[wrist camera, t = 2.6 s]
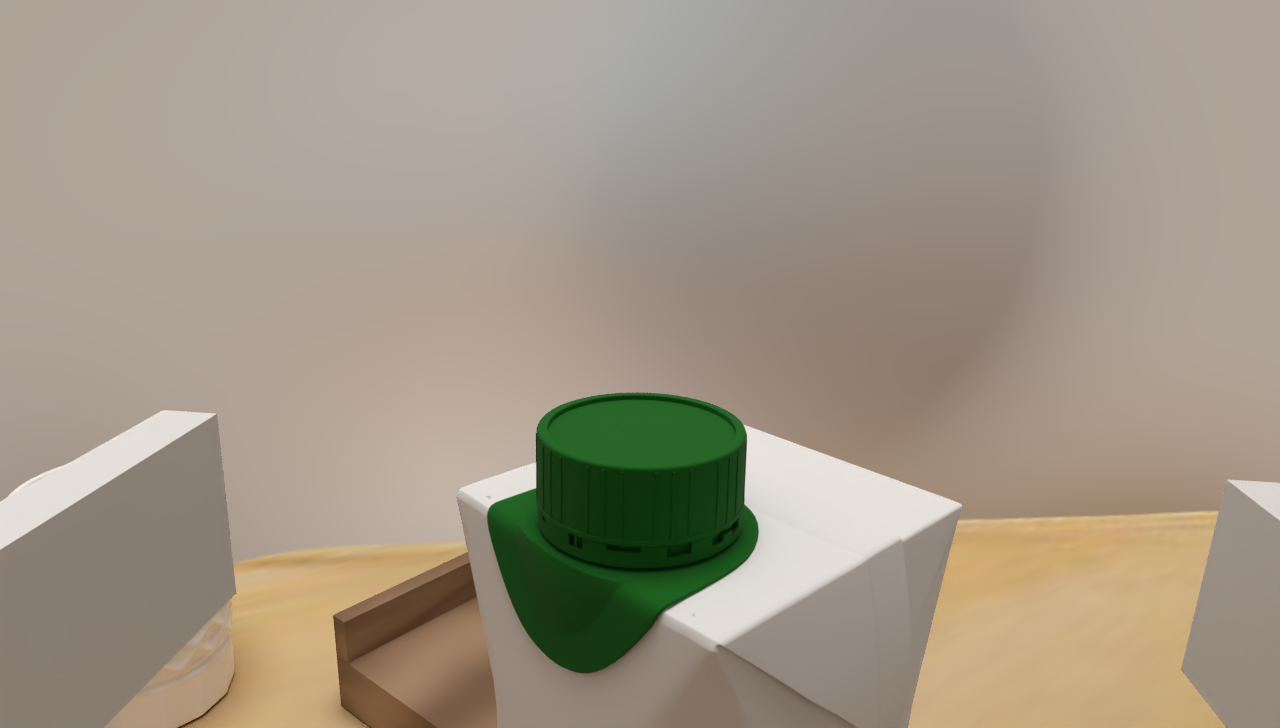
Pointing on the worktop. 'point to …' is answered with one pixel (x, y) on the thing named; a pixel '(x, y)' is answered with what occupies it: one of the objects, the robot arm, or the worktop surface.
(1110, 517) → the worktop surface
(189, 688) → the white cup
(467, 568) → the wooden tray
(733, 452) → the white two-tone container
